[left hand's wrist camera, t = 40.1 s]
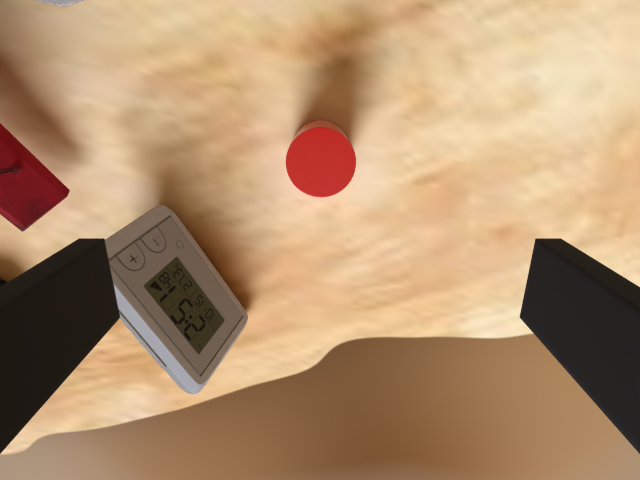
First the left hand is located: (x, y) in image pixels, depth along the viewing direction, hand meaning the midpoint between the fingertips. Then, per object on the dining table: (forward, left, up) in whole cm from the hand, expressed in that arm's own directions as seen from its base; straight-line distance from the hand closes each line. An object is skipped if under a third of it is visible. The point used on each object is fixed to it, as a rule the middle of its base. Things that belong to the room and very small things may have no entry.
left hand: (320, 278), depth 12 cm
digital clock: (+8, -17, -28) cm, 34 cm away
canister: (0, 0, -28) cm, 29 cm away
